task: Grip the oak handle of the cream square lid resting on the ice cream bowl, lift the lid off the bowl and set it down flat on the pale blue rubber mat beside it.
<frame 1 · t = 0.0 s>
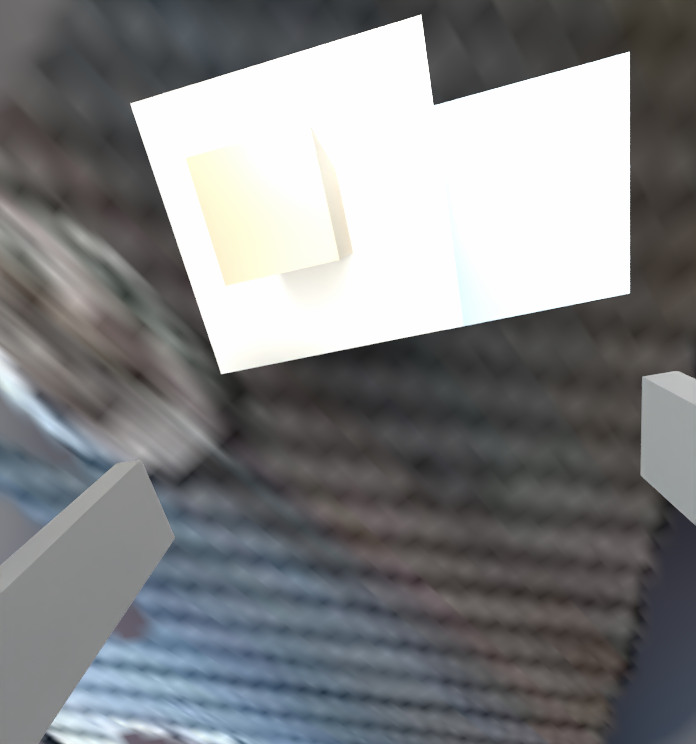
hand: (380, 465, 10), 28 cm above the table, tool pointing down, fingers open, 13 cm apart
mat: (524, 207, 33), on the table
lid: (308, 221, 21), point 15 cm above the table, touching ice cream bowl
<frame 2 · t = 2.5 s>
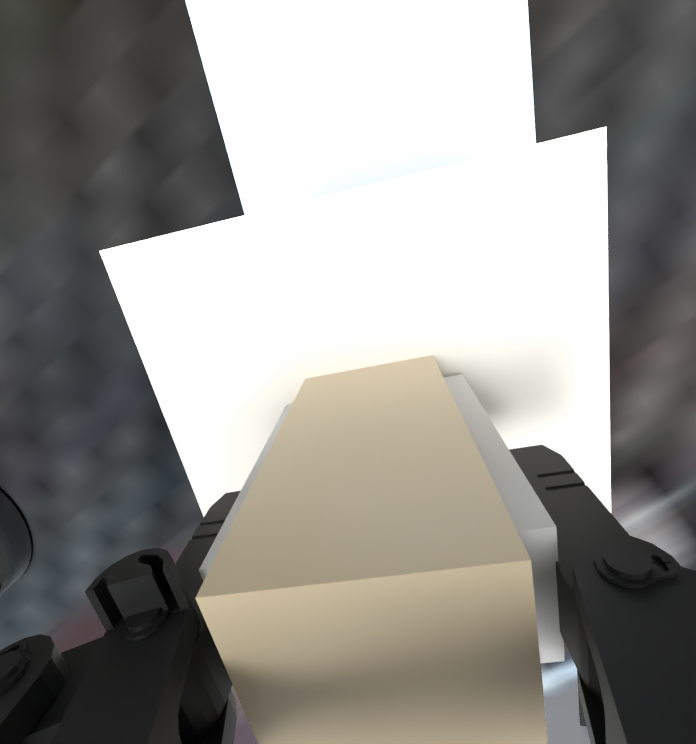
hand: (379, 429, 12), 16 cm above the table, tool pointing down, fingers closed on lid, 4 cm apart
mat: (359, 44, 23), on the table
lid: (379, 414, 14), point 15 cm above the table, touching gripper, ice cream bowl
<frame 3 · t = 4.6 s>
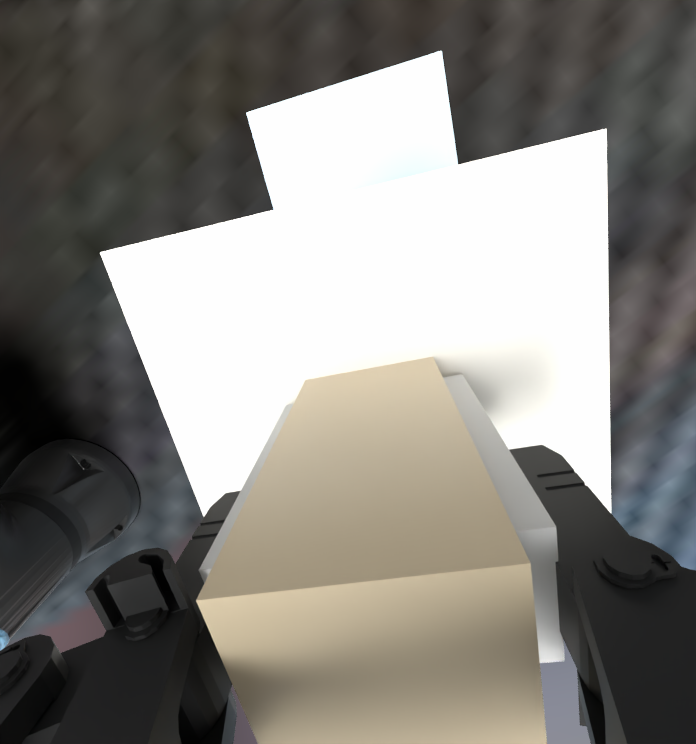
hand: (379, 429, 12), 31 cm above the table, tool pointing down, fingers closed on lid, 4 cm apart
mat: (361, 179, 38), on the table
lid: (379, 415, 14), point 30 cm above the table, touching gripper
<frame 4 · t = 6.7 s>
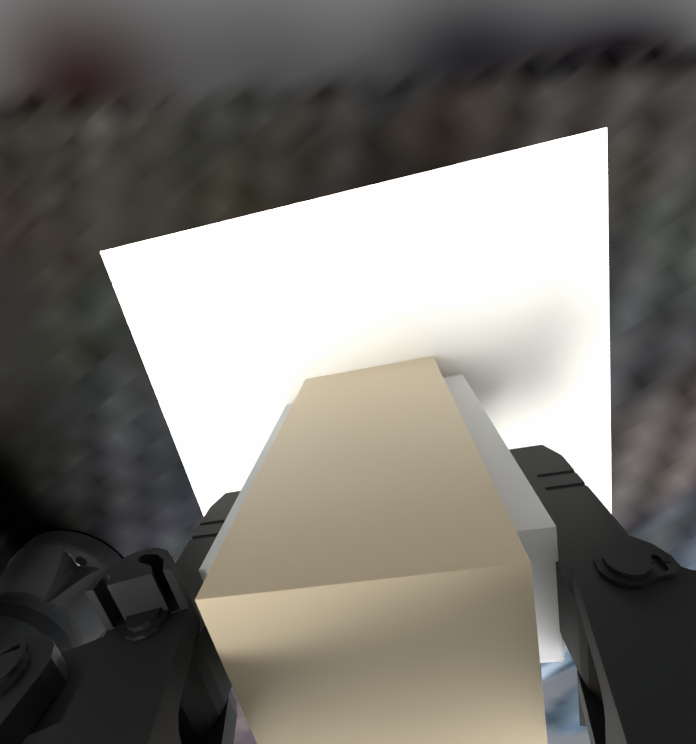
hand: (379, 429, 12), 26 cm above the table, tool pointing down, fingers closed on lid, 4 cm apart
lid: (379, 415, 14), point 25 cm above the table, touching gripper
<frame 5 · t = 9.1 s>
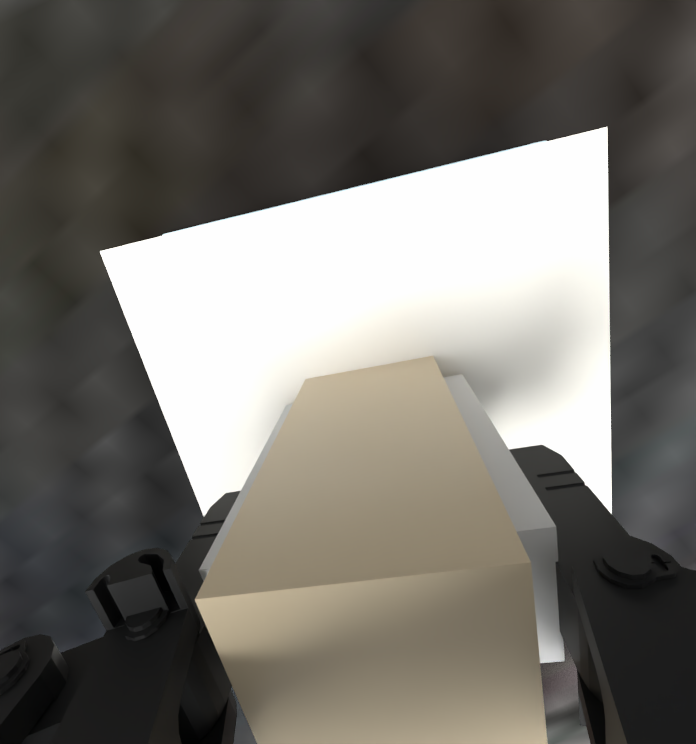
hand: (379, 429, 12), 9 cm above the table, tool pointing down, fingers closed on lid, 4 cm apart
mat: (375, 351, 21), on the table
lid: (379, 414, 14), point 8 cm above the table, touching gripper
when the fingers open (3 cm above the table, at t = 11.2 s): lid drops 1 cm, resting on mat.
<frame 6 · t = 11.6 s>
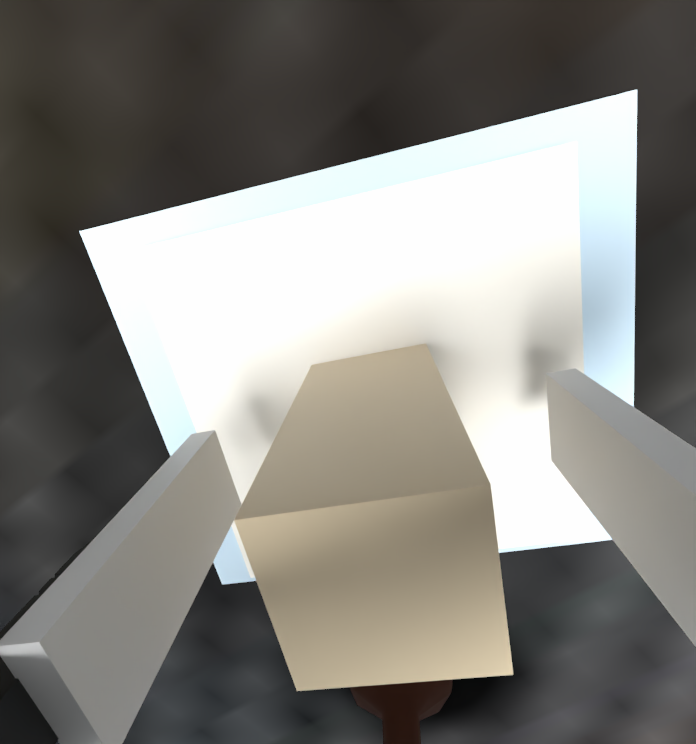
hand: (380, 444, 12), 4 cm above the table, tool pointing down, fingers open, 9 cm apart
mat: (379, 391, 15), on the table
ice cream bowl: (398, 673, 21), on the table
lid: (378, 398, 15), point 1 cm above the table, touching mat
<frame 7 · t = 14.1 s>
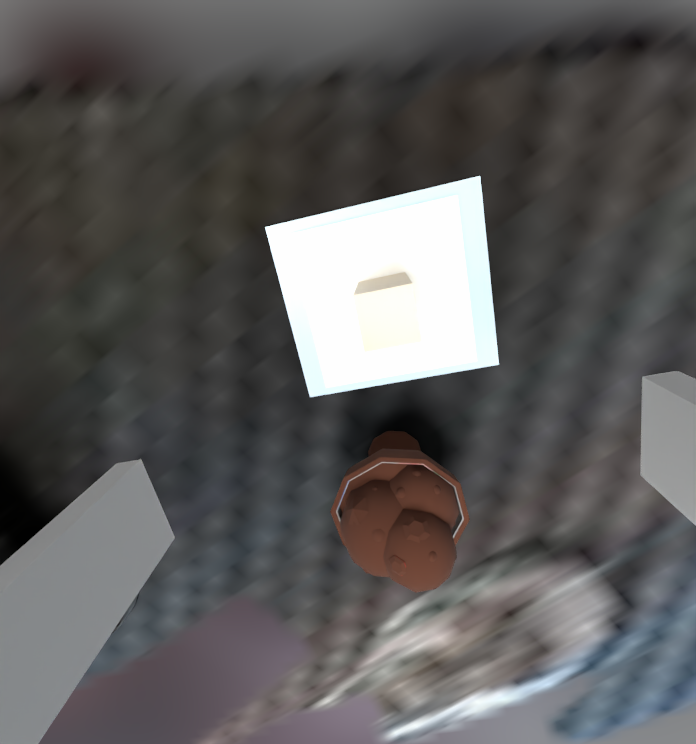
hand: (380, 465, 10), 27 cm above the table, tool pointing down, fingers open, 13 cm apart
mat: (385, 297, 36), on the table
ice cream bowl: (394, 453, 41), on the table
lid: (385, 298, 35), point 1 cm above the table, touching mat
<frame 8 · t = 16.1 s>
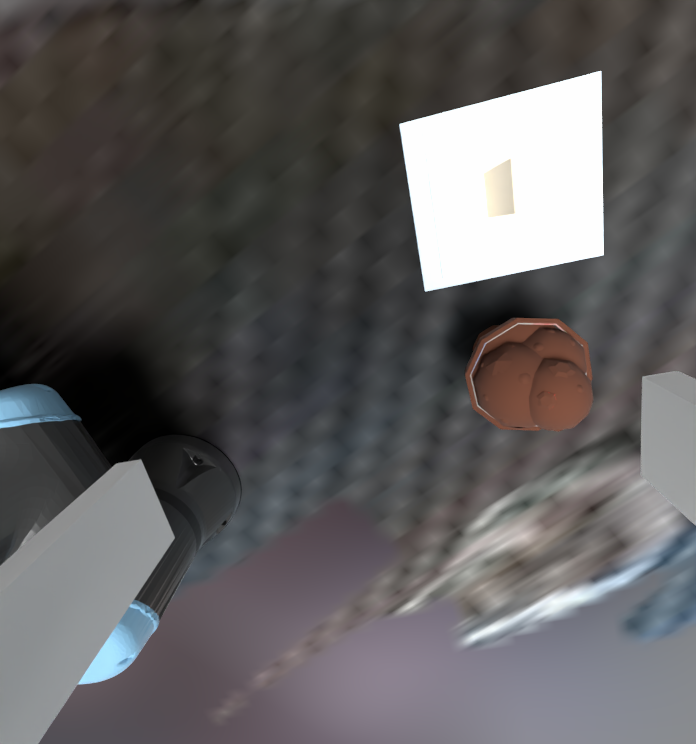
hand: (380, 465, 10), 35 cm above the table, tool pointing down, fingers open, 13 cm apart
mat: (503, 192, 39), on the table
ice cream bowl: (497, 348, 45), on the table
lid: (504, 192, 39), point 1 cm above the table, touching mat
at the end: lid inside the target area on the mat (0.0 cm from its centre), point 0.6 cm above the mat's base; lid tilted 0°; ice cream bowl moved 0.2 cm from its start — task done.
